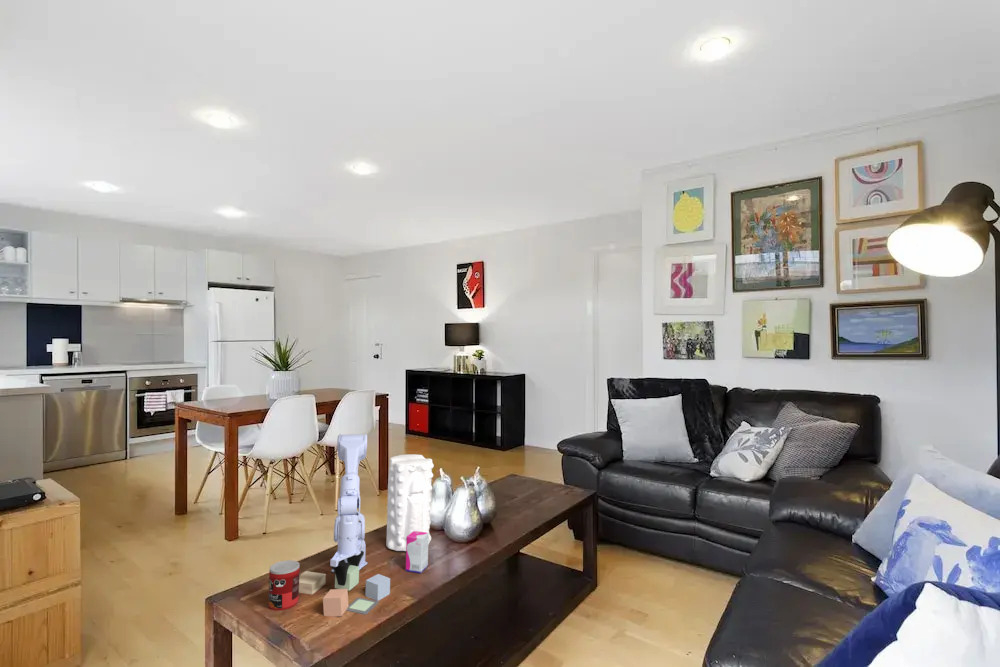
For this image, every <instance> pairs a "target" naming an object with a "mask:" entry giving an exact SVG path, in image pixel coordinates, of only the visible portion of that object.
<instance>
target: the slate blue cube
mask: <svg viewBox="0 0 1000 667" xmlns="http://www.w3.org/2000/svg"><path fill="white" fill-rule="evenodd" d="M364 594H365V597H366V598H370V600H373V601H378V602H380V601H381V600H382V599H384V598H387V596H389V595H390V594H391V578H390V577H388V576H385V575H382V574H379V573H377V574H375V575H373V576H371V577H370V578H367V579H365V593H364Z"/></svg>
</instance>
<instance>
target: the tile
mask: <svg viewBox="0 0 1000 667" xmlns="http://www.w3.org/2000/svg"><path fill="white" fill-rule="evenodd" d="M379 603H380V601H376V600H373V599H367V598H362V597H356V598H355V599H354V600H353V601H352V602H351V603H349V607H348V608H347V610H346V611H345V612H351V613H356V614H361V615H365V616H366V615H367V614H368V613H370V612H371V610H373V609H374V608H375V607H376V606H377V605H378V604H379Z"/></svg>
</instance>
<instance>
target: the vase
mask: <svg viewBox="0 0 1000 667" xmlns="http://www.w3.org/2000/svg"><path fill="white" fill-rule="evenodd" d="M434 465H435V464H434V463H433V459H432V458H426V457H424V455H423V454H414V453H413V454H408V453H407V454H398V455H394V456H391V457H390V458H389V464H388V477H387V478H388V479H387V482H388V483H387V504H386V507H387V509H386V510H387V511H386V512H387V513H386V542H385V543H386V547H387V548H388V549H390V550H393V551H396V552H406V539H407V536H408V535H409V534H411V533H412V532H413V531H418V532H427V533H429V538H428V545H429V544H430V542H431V541H432V536H431V534H430V528H431V527H430V526H431V522H432V521H431V515H430V514H431V510H432V507H431V505H432V490H433V486H432V481H433V480H432V478H433V477H434V473H433V469H434Z"/></svg>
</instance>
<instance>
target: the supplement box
mask: <svg viewBox="0 0 1000 667" xmlns="http://www.w3.org/2000/svg"><path fill="white" fill-rule="evenodd" d="M429 534H430V532H429V533H427V532H418V531H413V532H412V533H411V534H409V535H408V536H407V539H406V551H405V554H406V555H405V572H409V573H410V572H411V573H415V574H422V573H423V572H425V570H426V569H427V568H428V567H427V566H429V544H428V538H429Z"/></svg>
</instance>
